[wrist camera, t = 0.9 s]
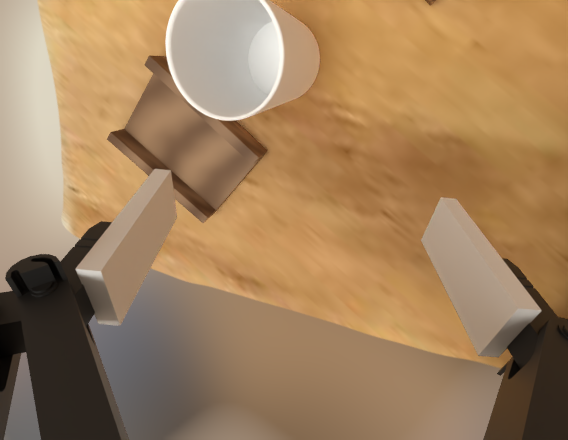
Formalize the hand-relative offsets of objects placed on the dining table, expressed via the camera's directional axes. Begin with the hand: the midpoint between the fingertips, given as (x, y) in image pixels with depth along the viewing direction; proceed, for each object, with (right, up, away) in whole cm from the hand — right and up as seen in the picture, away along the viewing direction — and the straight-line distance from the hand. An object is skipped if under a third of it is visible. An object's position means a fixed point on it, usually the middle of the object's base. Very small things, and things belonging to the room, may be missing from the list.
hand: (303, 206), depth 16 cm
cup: (-1, +17, +19) cm, 25 cm away
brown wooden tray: (-13, +10, +25) cm, 30 cm away
